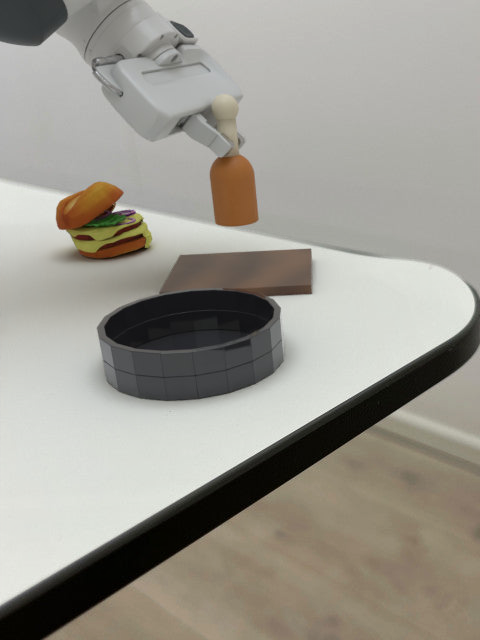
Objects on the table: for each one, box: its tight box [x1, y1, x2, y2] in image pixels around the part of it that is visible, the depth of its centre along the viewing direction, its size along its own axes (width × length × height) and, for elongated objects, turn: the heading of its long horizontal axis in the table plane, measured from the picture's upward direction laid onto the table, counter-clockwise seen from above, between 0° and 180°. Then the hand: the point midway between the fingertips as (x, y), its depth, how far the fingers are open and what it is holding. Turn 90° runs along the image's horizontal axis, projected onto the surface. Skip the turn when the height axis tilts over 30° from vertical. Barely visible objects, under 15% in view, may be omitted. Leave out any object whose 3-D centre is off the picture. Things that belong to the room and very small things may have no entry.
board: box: [158, 247, 313, 297], centre depth 87 cm, size 16×14×2 cm
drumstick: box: [209, 94, 259, 227], centre depth 82 cm, size 5×5×13 cm
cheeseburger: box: [55, 181, 153, 260], centre depth 100 cm, size 10×11×10 cm
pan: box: [96, 288, 285, 402], centre depth 66 cm, size 15×15×4 cm
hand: (234, 149), depth 82 cm, fingers closed on drumstick
